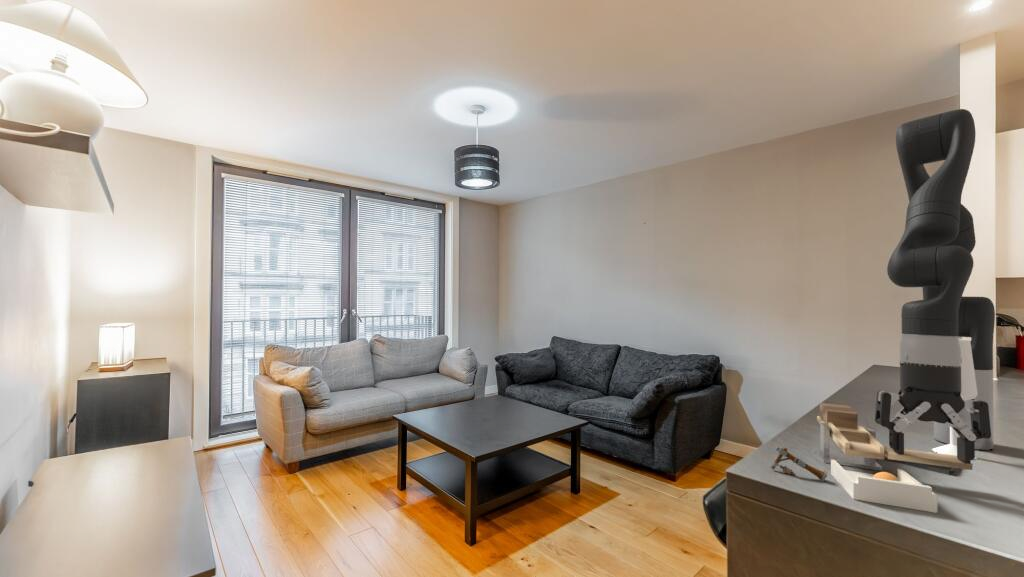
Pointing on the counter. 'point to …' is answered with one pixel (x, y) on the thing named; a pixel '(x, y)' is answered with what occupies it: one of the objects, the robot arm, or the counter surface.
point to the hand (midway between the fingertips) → (930, 457)
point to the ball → (885, 476)
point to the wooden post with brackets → (784, 452)
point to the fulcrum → (841, 457)
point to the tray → (886, 489)
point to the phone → (927, 466)
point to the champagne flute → (962, 392)
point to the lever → (874, 440)
